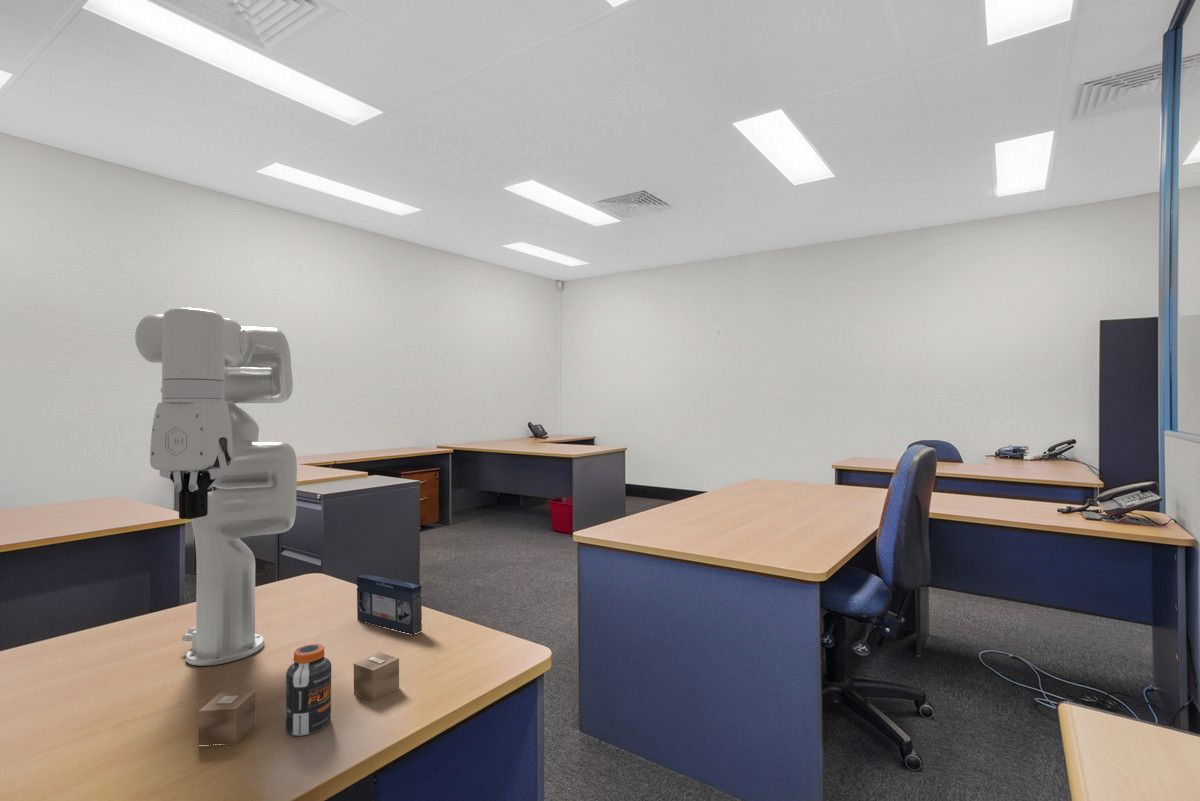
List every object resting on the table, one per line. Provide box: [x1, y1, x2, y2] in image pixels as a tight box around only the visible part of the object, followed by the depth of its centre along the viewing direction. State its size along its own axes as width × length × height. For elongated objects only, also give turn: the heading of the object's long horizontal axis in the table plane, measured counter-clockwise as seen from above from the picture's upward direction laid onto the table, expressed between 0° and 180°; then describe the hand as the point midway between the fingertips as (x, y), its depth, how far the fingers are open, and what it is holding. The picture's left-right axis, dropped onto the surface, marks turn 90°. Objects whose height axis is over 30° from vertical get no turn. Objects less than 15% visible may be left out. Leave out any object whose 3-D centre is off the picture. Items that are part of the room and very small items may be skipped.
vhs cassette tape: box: [356, 573, 423, 636], centre depth 119 cm, size 18×3×10 cm, turn 58°
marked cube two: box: [353, 651, 400, 702], centre depth 91 cm, size 5×5×5 cm
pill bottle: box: [285, 643, 332, 737], centre depth 81 cm, size 6×6×11 cm
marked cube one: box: [197, 690, 257, 746], centre depth 79 cm, size 5×5×5 cm
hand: (193, 517), depth 81 cm, fingers closed
